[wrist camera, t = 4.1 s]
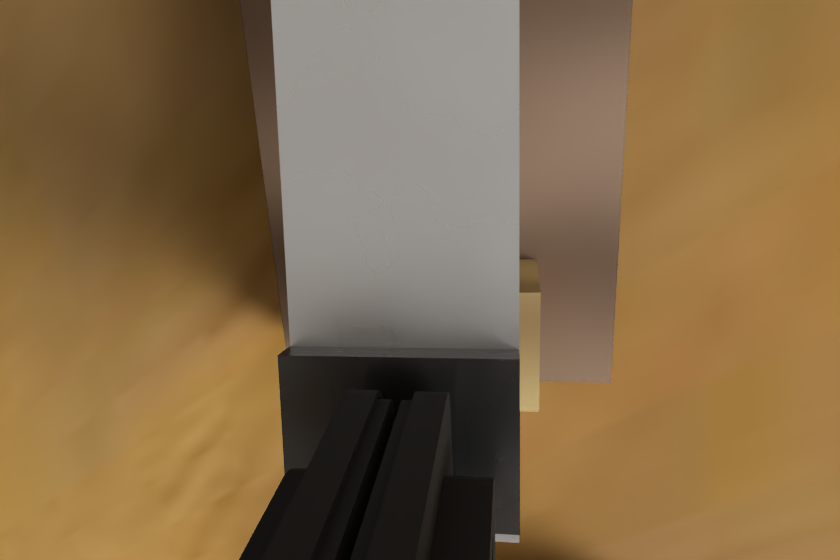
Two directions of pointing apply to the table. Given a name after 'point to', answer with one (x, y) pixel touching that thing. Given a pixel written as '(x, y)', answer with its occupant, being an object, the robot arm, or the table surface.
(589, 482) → the table surface
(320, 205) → the grey flat bar
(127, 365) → the table surface
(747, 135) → the table surface
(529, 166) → the mount block
